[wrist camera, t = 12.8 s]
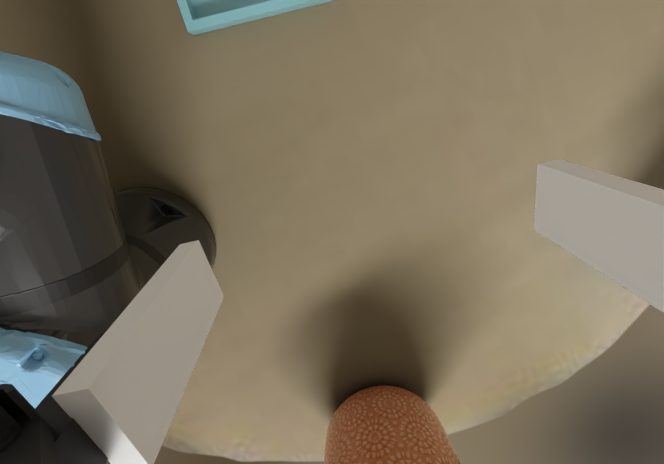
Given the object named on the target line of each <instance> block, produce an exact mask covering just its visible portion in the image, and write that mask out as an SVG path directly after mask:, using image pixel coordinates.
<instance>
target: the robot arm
mask: <svg viewBox="0 0 664 464" xmlns="http://www.w3.org/2000/svg"><path fill="white" fill-rule="evenodd" d="M99 141H102V140H101V136H100V134H99V133H97V132H96V130H95V127H94V124H93V122H92V119H91V116H90V114H89V111H88V108H87V105H86V102H85V99H84V96H83V93H82V91H81V89H80V88H79V86H78V85H77V83H76V82H75V81H74V80H73V79H72V78H71V77H70V76H69V75H68V74H66V73H65V72H63V71H62V70H60V69H58V68H57V67H55V66H53V65H50V64H48V63H45V62H42V61H38V60H35V59H31V58H27V57H23V56H19V55H14V54H10V53H5V52H0V464H105V463H106V461H107V460H108V461H109V462H110V463H111V464H154V462H155V460H156V457H157V455H158V453H159V450H160V448H161V445H162V443H163V441H164V438H165V436H166V434H167V431H168V429H169V426H170V424H171V422H172V419H173V417H174V415H175V412H176V410H177V407H178V405H179V403H180V400H181V398H182V396H183V393H184V391H185V388H186V386H187V384H188V381H189V379H190V377H191V374H192V372H193V369H194V367H195V365H196V362H197V360H198V358H199V355H200V353H201V350H202V348H203V346H204V343H205V341H206V339H207V336H208V334H209V331H210V329H211V327H212V324H213V322H214V320H215V317H216V315H217V312H218V310H219V308H220V305H221V303H222V301H223V298H224V296H223V293H222V291H221V289H220V287H219V284H218V282H217V280H216V278H215V276H214V273H213V271H212V267H213V265H214V262H215V257H216V243H215V238H214V235H213V232H212V230H211V228H210V226H209V224H208V223H207V221H206V220H205V218H204V217H203V216H202V215H201V214H200V212H199V211H198V210H197V209H195V208H194V207H193V206H192V205H191V204H189V203H188V202H187V201H185V200H183V199H182V198H180V197H178V196H176V195H174V194H172V193H169V192H166V191H163V190H159V189H154V188H131V189H126V190H123V191H120V192H118V193H116V194H114V193H113V189H112V186H111V182H110V179H109V175H108V171H107V168H106V164H105V160H104V156H103V153H102V149H101V145H100V142H99ZM534 230H535V231H537V232H538V233H540V234H541V235H543V236H545V237H546V238H548V239H549V240H551V241H552V242H554V243H556V244H557V245H559V246H560V247H562V248H563V249H565V250H566V251H568V252H570V253H571V254H573V255H574V256H576V257H577V258H579V259H581V260H582V261H584V262H585V263H587V264H588V265H590V266H591V267H593V268H595V269H596V270H598V271H599V272H601V273H602V274H604V275H606V276H607V277H609V278H610V279H612V280H613V281H615V282H616V283H618V284H620V285H621V286H623V287H624V288H626V289H627V290H629V291H631V292H632V293H634V294H635V295H637V296H638V297H640V298H641V299H643V300H645V301H646V302H648V303H649V304H651V305H652V306H654V307H656V308H657V309H659V310H660V311H662V312H663V313H664V190H663V189H660V188H657V187H653V186H650V185H646V184H643V183H639V182H636V181H632V180H629V179H625V178H622V177H619V176H615V175H612V174H608V173H605V172H601V171H598V170H594V169H591V168H588V167H584V166H581V165H577V164H574V163H570V162H567V161H563V160H560V159H556V160H552V161H548V162H543V163H539V164H538V167H537V184H536V200H535V217H534Z"/></svg>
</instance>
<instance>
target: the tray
mask: <svg viewBox="0 0 664 464" xmlns="http://www.w3.org/2000/svg"><path fill="white" fill-rule="evenodd" d="M330 1H333V0H177V2H178V5H179V8H180V11H181V14H182V16H183V19H184V22H185V25H186V28H187V31H188V32H189V33H191V34H193V35H198V34H202V33H206V32H210V31H214V30H218V29H222V28H226V27H230V26H234V25H238V24H242V23H246V22H250V21H254V20H258V19H262V18H266V17H270V16H274V15H278V14H282V13H286V12H290V11H294V10H298V9H302V8H306V7H310V6H314V5H318V4H322V3H326V2H330Z"/></svg>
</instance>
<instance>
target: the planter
mask: <svg viewBox="0 0 664 464" xmlns="http://www.w3.org/2000/svg"><path fill="white" fill-rule="evenodd" d="M324 464H460V461H459V459H458V457H457V455H456V453H455V451H454V448H453V447H452V444H451V442H450V440H449V438H448V436H447V434H446V432H445V430H444V428H443V426H442V425H441V423H440V421H439V419H438V418H437V416H436V414H435V413H434V411H433V410H432V409H431V407H430V406H429V405H428V404H427V403H426V402H425V401H424V400H423V399H422V398H420V397H419V396H417V395H416V394H414V393H412V392H410V391H408V390H406V389H403V388H399V387H394V386H374V387H369V388H366V389H363V390H361V391H358V392H356V393H355V394H353V395H352V396H350V397H349V398H347V399H346V400H345V401H344V402H343V403H342V404H341V405H340V406H339V407H338V409H337V410H336V411H335V413H334V415H333V417H332V419H331V421H330V424H329V427H328V431H327V437H326V445H325V457H324Z"/></svg>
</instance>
